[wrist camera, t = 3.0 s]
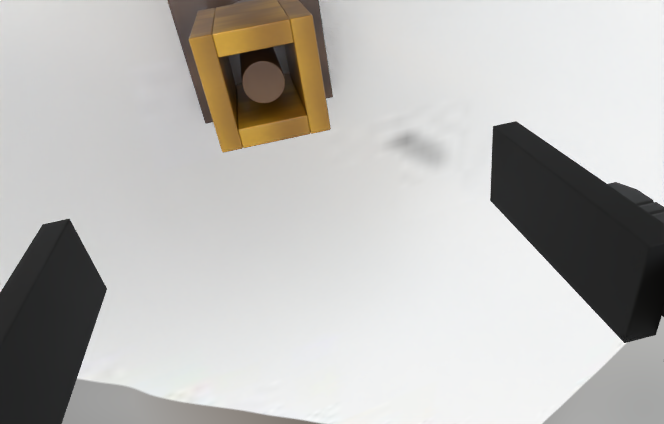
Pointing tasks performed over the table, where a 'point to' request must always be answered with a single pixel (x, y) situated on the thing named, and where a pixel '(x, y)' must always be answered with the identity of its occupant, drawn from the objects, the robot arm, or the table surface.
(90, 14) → the table surface
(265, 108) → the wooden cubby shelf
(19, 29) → the table surface
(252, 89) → the peg stand
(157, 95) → the table surface
